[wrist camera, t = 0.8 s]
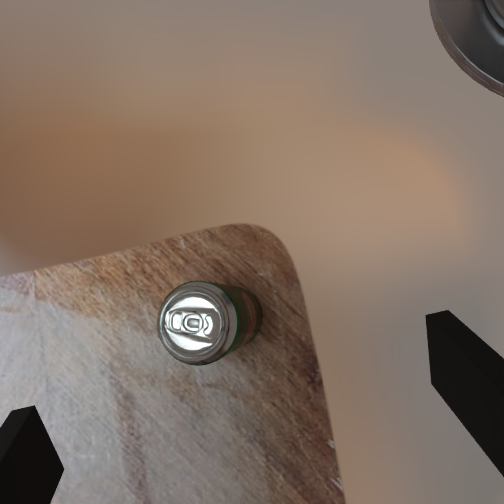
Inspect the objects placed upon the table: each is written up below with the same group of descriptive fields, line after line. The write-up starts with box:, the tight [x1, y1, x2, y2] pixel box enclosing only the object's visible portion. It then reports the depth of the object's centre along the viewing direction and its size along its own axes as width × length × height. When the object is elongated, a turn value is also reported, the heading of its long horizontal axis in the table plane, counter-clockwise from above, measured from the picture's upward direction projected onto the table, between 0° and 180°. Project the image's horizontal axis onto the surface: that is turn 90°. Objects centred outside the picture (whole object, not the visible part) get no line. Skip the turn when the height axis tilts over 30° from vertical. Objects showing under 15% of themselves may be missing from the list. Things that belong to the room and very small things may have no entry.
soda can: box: [157, 281, 262, 366], centre depth 31 cm, size 5×5×12 cm
